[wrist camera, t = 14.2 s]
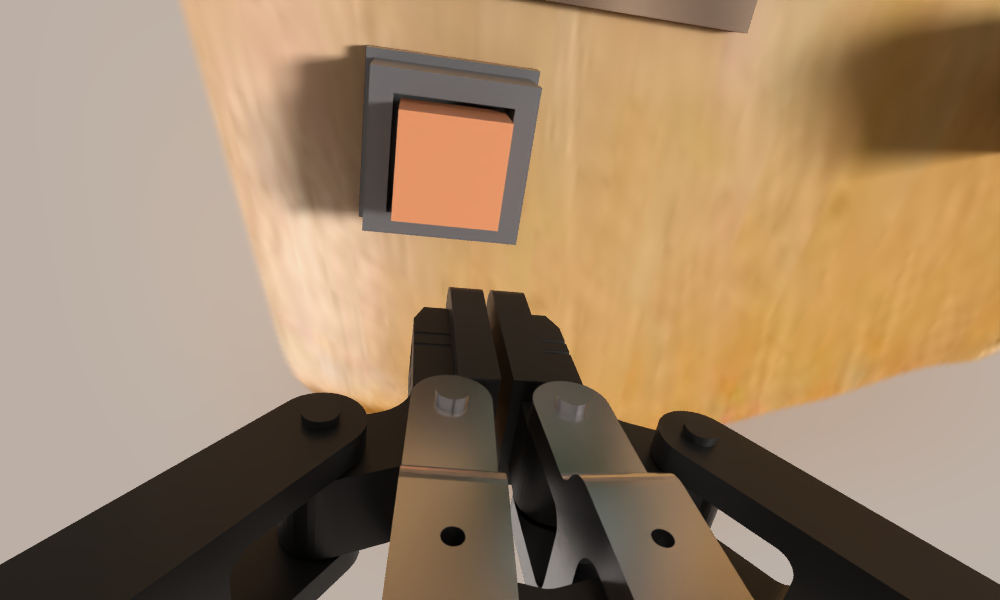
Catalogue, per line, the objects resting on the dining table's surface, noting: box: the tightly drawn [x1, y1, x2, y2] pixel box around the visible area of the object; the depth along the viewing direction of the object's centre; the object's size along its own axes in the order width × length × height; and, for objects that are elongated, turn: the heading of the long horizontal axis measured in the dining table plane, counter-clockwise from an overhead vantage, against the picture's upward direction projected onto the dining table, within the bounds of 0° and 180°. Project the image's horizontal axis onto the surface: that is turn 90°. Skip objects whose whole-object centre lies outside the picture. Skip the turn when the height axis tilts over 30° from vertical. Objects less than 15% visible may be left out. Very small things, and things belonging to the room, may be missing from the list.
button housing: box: [359, 45, 542, 245], centre depth 28 cm, size 8×8×4 cm
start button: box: [391, 98, 514, 231], centre depth 26 cm, size 5×5×3 cm
